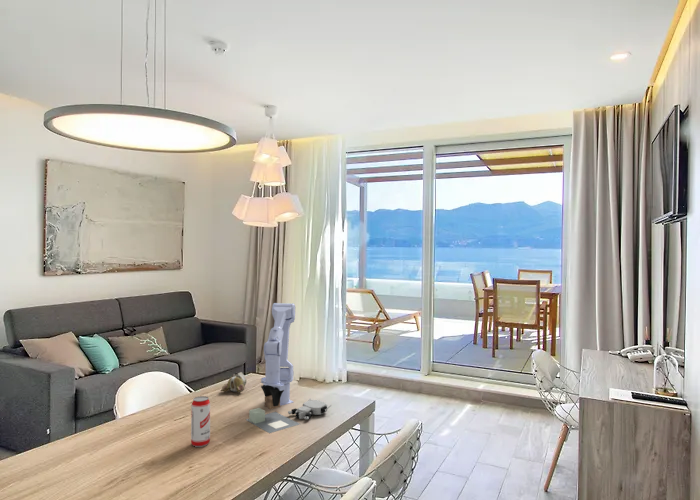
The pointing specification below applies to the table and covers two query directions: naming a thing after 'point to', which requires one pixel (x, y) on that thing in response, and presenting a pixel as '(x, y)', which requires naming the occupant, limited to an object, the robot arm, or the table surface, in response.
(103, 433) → the table surface
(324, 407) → the robot toy
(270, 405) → the walnut block
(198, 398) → the beer can
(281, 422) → the board
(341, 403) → the table surface
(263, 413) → the sage block
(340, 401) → the table surface
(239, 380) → the ceramic sculpture
